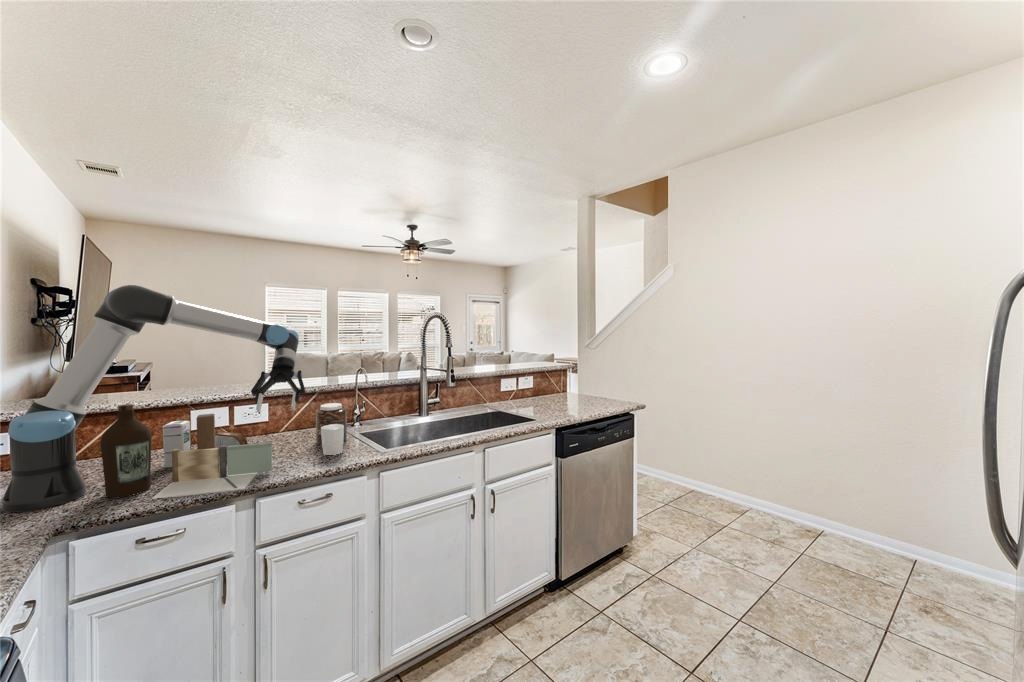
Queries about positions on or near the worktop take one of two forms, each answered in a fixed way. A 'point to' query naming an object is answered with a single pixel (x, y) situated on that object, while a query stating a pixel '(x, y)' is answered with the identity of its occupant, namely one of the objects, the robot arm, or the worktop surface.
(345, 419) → the jar
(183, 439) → the syrup box
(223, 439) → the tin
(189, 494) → the card
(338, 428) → the white cup
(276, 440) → the worktop surface
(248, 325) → the robot arm
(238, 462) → the hinged fence section
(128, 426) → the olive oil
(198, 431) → the wooden block
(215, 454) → the fixed fence section
